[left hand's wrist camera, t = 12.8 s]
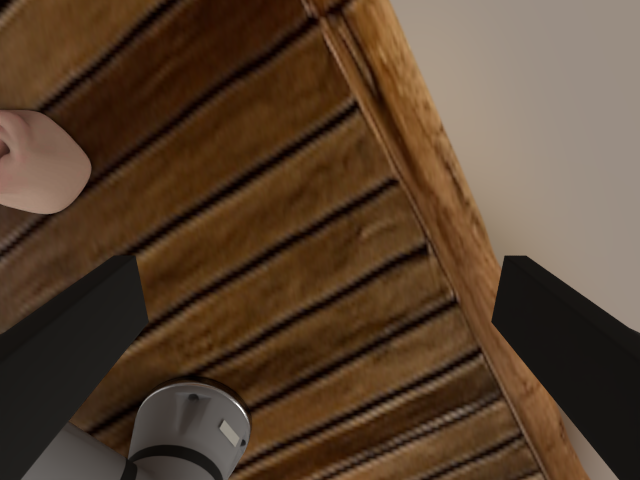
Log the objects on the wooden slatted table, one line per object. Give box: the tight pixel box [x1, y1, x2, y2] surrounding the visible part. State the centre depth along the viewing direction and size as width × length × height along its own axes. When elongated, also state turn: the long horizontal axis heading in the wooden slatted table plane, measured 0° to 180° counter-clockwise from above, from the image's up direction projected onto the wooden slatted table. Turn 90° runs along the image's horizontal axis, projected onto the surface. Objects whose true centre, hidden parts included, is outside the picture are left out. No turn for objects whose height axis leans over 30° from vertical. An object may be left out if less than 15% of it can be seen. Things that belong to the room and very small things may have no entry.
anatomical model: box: [0, 110, 91, 214], centre depth 34 cm, size 13×4×12 cm
